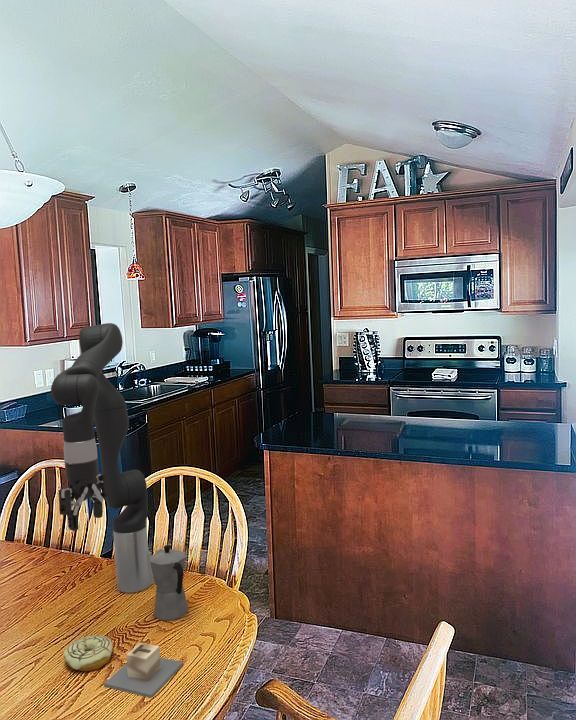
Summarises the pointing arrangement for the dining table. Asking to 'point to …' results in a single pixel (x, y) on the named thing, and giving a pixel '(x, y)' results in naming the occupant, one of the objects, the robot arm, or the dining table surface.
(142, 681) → the slate coaster
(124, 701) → the dining table surface
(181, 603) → the coffeepot
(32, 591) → the dining table surface
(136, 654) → the letter block
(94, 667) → the decorated donut
